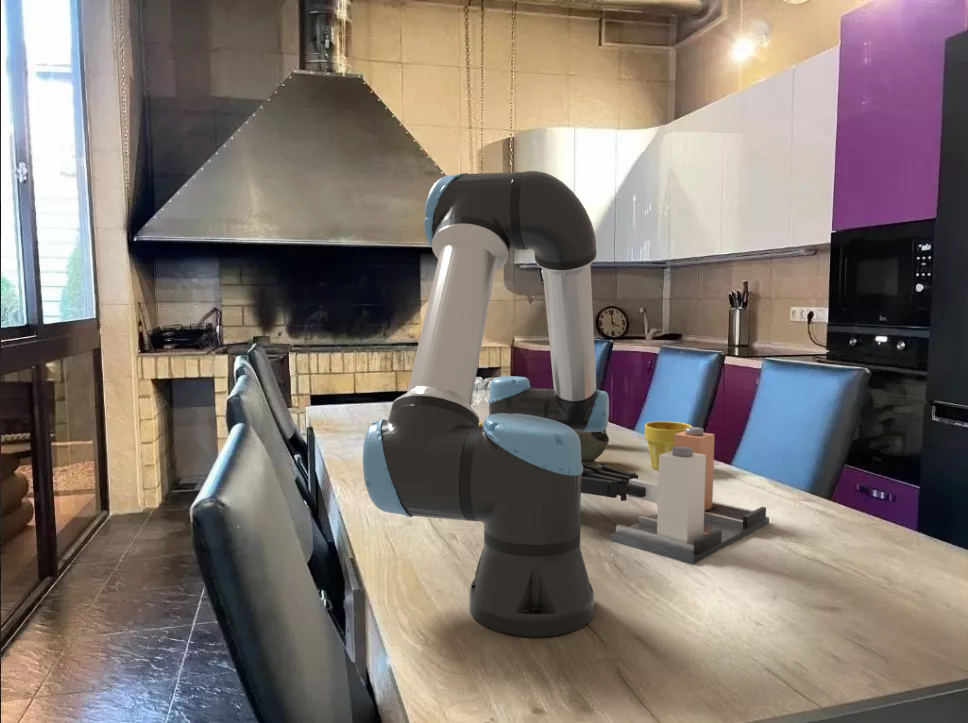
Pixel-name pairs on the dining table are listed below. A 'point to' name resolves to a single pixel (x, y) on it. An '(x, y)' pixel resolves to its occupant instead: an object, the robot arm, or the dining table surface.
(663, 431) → the plant pot
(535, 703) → the dining table surface
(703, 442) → the orange square bottle
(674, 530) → the white square bottle
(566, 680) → the dining table surface
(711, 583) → the dining table surface
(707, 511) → the dark grey divided tray
